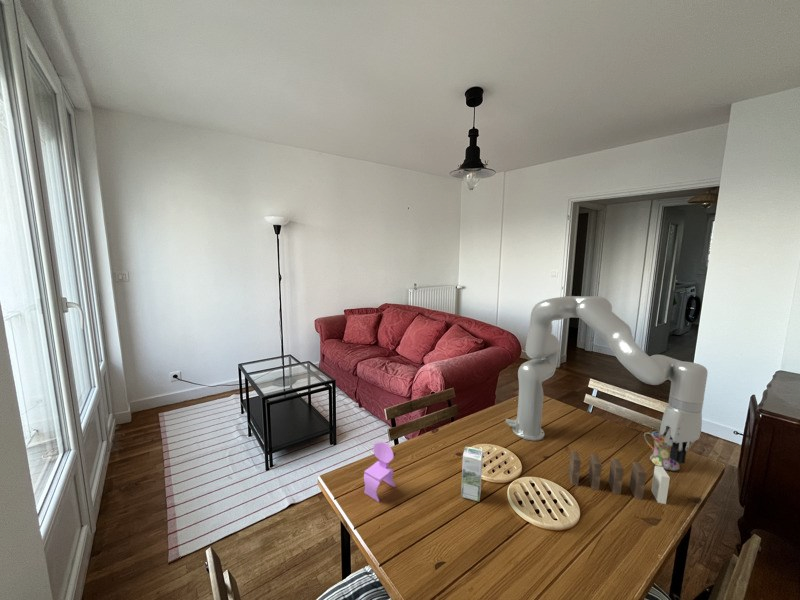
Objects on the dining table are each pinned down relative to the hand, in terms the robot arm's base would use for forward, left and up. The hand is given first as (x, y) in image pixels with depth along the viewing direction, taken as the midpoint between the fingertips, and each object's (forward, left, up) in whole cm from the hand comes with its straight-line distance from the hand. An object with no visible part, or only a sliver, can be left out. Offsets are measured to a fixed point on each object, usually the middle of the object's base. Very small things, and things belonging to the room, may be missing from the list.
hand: (677, 460), depth 99 cm
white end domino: (-3, 0, -14) cm, 14 cm away
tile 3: (-21, 0, -14) cm, 25 cm away
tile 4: (-27, 0, -14) cm, 30 cm away
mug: (+5, +21, -14) cm, 26 cm away
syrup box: (-59, -18, -14) cm, 63 cm away
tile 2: (-15, 0, -14) cm, 20 cm away
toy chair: (-87, -26, -14) cm, 92 cm away
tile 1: (-9, 0, -14) cm, 17 cm away
